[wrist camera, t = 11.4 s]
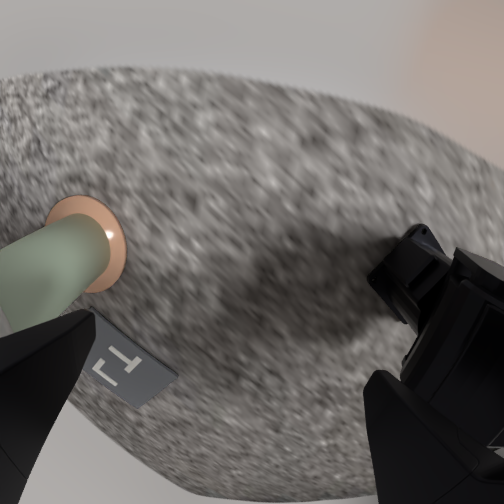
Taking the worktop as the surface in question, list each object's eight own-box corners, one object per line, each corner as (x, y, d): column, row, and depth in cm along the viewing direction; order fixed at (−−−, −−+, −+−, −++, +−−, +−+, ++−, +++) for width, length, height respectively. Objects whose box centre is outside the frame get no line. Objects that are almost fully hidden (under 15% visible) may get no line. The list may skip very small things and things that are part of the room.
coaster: (146, 242, 21) (143, 245, 20) (98, 306, 23) (95, 310, 22) (74, 173, 19) (70, 174, 18) (36, 246, 21) (32, 248, 20)
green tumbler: (124, 257, 21) (27, 355, 9) (83, 290, 22) (-3, 381, 10) (83, 198, 19) (-41, 253, 8) (46, 238, 20) (-58, 303, 9)
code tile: (178, 375, 25) (177, 377, 25) (138, 407, 27) (137, 409, 27) (91, 306, 23) (89, 308, 22) (63, 350, 25) (61, 352, 24)
